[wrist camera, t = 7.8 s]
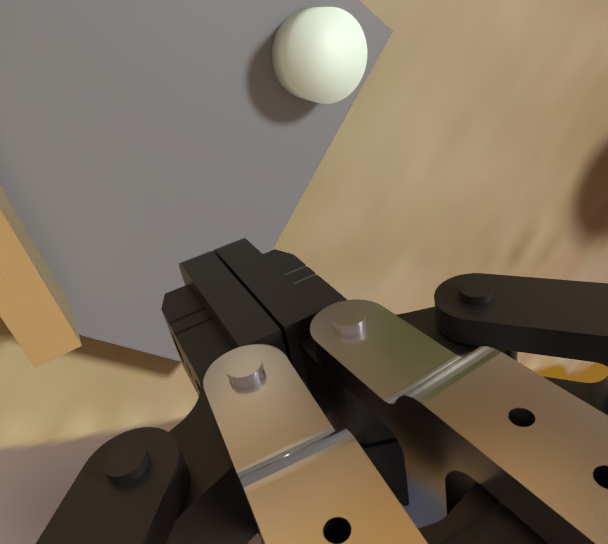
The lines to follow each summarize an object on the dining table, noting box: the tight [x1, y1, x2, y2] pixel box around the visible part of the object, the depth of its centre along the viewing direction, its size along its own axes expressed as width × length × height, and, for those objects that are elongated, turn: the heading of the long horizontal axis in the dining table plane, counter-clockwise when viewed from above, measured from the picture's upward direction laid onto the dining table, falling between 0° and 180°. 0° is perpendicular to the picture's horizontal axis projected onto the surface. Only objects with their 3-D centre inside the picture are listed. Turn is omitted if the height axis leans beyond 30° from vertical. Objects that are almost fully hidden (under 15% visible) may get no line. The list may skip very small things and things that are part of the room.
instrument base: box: [0, 0, 393, 362], centre depth 19 cm, size 18×22×4 cm
